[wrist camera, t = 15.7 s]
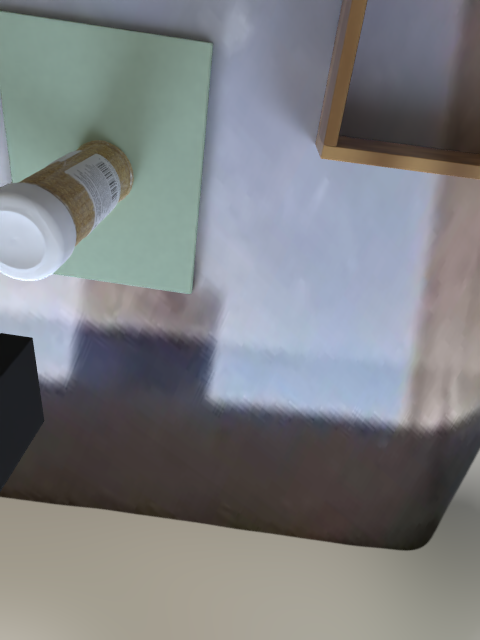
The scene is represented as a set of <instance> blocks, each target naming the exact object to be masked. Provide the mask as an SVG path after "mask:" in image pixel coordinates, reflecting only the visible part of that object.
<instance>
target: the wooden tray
mask: <svg viewBox="0 0 480 640" xmlns="http://www.w3.org/2000/svg"><path fill="white" fill-rule="evenodd" d="M366 5H367V0H343V1H342V6H341V11H340V17H339V22H338V27H337V32H336V38H335V43H334V48H333V54H332V59H331V64H330V70H329V75H328V80H327V85H326V91H325V96H324V101H323V107H322V112H321V117H320V122H319V128H318V133H317V138H316V144H315V145H316V147H317V150H318V152H319V155H320V157H321V159H328V160H336V161H343V162H351V163H359V164H366V165H374V166H381V167H389V168H396V169H404V170H412V171H419V172H427V173H434V174H442V175H450V176H457V177H465V178H472V179H480V154H475V153H467V152H460V151H452V150H445V149H437V148H429V147H422V146H414V145H407V144H399V143H391V142H384V141H376V140H369V139H361V138H354V137H346V136H339V132H340V127H341V123H342V118H343V113H344V108H345V104H346V99H347V94H348V90H349V85H350V80H351V76H352V71H353V66H354V61H355V57H356V52H357V47H358V43H359V38H360V33H361V28H362V24H363V19H364V14H365V10H366Z"/></svg>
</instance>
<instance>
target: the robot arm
mask: <svg viewBox="0 0 480 640" xmlns="http://www.w3.org/2000/svg"><path fill="white" fill-rule="evenodd" d="M43 422H44V416H43V409H42V402H41V395H40V388H39V381H38V373H37V366H36V359H35V352H34V345H33V338H30V337H23V336H17V335H10V334H3V333H1V334H0V491H1V490H2V488H3V487H4V485H5V483H6V482H7V480H8V478H9V477H10V475H11V474H12V472H13V470H14V469H15V467H16V466H17V464H18V462H19V461H20V459H21V457H22V456H23V454H24V453H25V451H26V449H27V448H28V446H29V445H30V443H31V441H32V440H33V438H34V437H35V435H36V433H37V432H38V430H39V428H40V427H41V425H42V424H43Z"/></svg>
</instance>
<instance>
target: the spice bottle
mask: <svg viewBox="0 0 480 640" xmlns="http://www.w3.org/2000/svg"><path fill="white" fill-rule="evenodd" d="M133 181H134V176H133V169H132V167H131V163H130V161H129V160H128V158H127V156H126V155H125V154H124V152H122V151H121V150H120V149H119V148H118V147H116V146H115V145H113V144H111V143H108V142H106V141H102V140H95V141H90V142H87V143H85V144H83V145H81V146H80V147H79V148H78V149H77V150H76V151H73V152H70V153H68V154H66V155H64V156H62V157H60V158H58V159H57V160H55V161H53V162H52V163H50V164H49V165H47V166H46V167H45V168H43V169H42V170H40V171H38V172H36V173H34V174H32V175H31V176H29V177H27V178H25V179H23V180H22V181H20V182H19V183H11V184H7V185H4V186H2V187H0V272H1V273H2V274H4V275H7V276H9V277H11V278H14V279H18V280H24V281H35V280H40V279H43V278H46V277H48V276H50V275H51V274H53V273H54V272H55V271H56V270H57V269H58V268H59V267H61V266H62V265H63V264H64V263H65V262H66V260H67V259H68V258H69V257H70V256H71V254H72V252H73V250H74V247H75V246H76V245H77V244H78V243H79V242H80V241H81V240H82V239H84V238H85V237H87V236H88V235H89V234H90V233H91V232H92V231H93V230H94V229H95V228H96V226H97V225H98V224H99V223H100V222H101V221H102V220H103V219H104V218H105V217H106V216H107V215H108V214H109V213H110V212H111V211H112V210H113V209H114V208H115V206H116V205H117V203H118V202H120V201H122V200H123V199H124V198H125V197H126V196H127V195H128V194H129V193H130V191H131V189H132V185H133Z"/></svg>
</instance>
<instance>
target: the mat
mask: <svg viewBox="0 0 480 640" xmlns="http://www.w3.org/2000/svg"><path fill="white" fill-rule="evenodd" d="M212 52H213V43H210V42H203V41H197V40H190V39H184V38H177V37H171V36H164V35H158V34H151V33H145V32H138V31H131V30H125V29H118V28H112V27H105V26H99V25H92V24H86V23H79V22H73V21H66V20H60V19H53V18H46V17H40V16H33V15H27V14H20V13H14V12H7V11H1V10H0V91H1V99H2V107H3V114H4V122H5V130H6V137H7V145H8V153H9V160H10V168H11V176H12V183H19V182H20V181H22V180H23V179H25V178H27V177H29V176H31V175H32V174H34V173H36V172H38V171H40V170H42V169H43V168H45V167H46V166H47V165H49V164H50V163H52V162H53V161H55V160H57V159H58V158H60V157H62V156H64V155H66V154H68V153H70V152H73V151H76V150H77V149H78V148H79V147H80V146H81V145H83V144H85V143H87V142H90V141H95V140H102V141H106V142H108V143H111V144H113V145H115V146H116V147H118V148H119V149H120V150H121V151H122V152H124V154H125V155H126V156H127V158H128V160H129V161H130V163H131V167H132V169H133V176H134V181H133V185H132V189H131V191H130V193H129V194H128V195H127V196H126V197H125V198H124V199H123V200H122V201H120V202H118V203H117V205H116V206H115V208H114V209H113V210H112V211H111V212H110V213H109V214H108V215H107V216H106V217H105V218H104V219H103V220H102V221H101V222H100V223H99V224H98V225H97V226H96V228H95V229H94V230H93V231H92V232H91V233H90V234H89V235H88V236H87V237H85V238H84V239H82V240H81V241H80V242H79V243H78V244H77V245H76V246H75V247H74V250H73V252H72V254H71V256H70V257H69V258H68V259H67V260H66V262H65V263H64V264H63V265H62V266H61V267H59V268H58V269H57V270H56V271H55V272H54V273H53V274H57V275H64V276H70V277H77V278H84V279H91V280H98V281H104V282H111V283H118V284H125V285H132V286H139V287H145V288H152V289H159V290H166V291H173V292H179V293H186V294H191V293H192V287H193V275H194V264H195V252H196V240H197V228H198V217H199V205H200V193H201V181H202V170H203V158H204V146H205V134H206V123H207V111H208V99H209V87H210V76H211V64H212Z"/></svg>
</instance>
